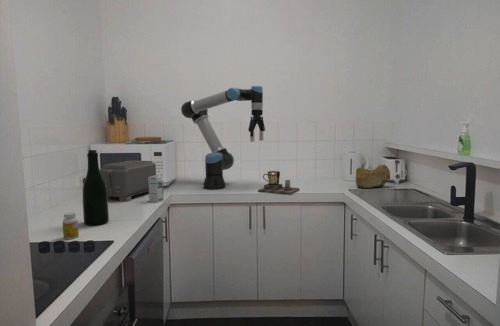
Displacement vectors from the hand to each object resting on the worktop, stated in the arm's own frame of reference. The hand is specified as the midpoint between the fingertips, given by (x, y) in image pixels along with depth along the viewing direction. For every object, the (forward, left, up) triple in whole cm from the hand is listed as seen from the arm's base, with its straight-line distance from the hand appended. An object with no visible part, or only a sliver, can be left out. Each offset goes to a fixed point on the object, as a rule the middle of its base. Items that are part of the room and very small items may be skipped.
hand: (256, 141), depth 249 cm
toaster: (-58, -61, -32) cm, 90 cm away
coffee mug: (+8, +7, -32) cm, 33 cm away
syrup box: (-33, -65, -32) cm, 79 cm away
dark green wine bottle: (-26, -112, -32) cm, 119 cm away
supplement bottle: (-18, -131, -32) cm, 136 cm away
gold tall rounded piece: (+16, -9, -30) cm, 35 cm away
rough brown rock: (+70, +32, -32) cm, 83 cm away
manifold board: (+20, -9, -31) cm, 38 cm away
